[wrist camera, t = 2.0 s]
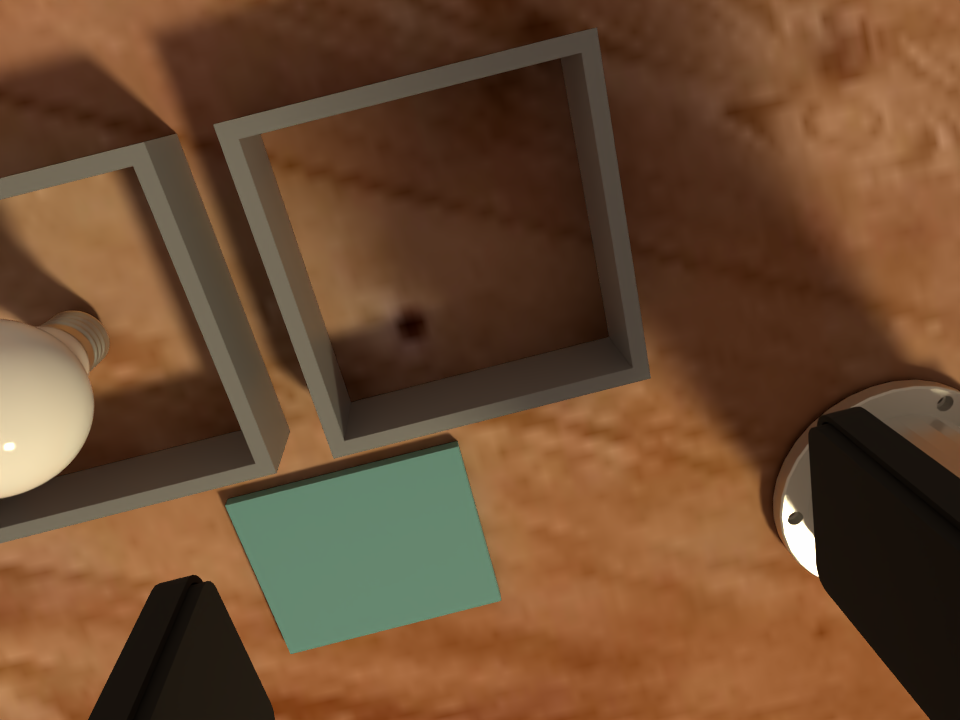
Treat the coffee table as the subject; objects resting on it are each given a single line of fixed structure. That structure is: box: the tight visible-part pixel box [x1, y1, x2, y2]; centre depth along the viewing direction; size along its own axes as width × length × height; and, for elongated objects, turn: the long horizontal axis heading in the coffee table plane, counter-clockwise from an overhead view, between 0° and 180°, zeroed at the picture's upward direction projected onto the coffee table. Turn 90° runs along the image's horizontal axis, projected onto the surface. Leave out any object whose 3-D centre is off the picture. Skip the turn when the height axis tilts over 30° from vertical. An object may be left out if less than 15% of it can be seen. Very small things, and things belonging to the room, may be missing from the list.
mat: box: [225, 441, 501, 654], centre depth 38 cm, size 12×10×1 cm
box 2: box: [213, 28, 651, 458], centre depth 31 cm, size 14×14×4 cm
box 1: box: [0, 134, 290, 543], centre depth 31 cm, size 14×14×4 cm
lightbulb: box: [0, 310, 110, 499], centre depth 27 cm, size 6×6×11 cm
